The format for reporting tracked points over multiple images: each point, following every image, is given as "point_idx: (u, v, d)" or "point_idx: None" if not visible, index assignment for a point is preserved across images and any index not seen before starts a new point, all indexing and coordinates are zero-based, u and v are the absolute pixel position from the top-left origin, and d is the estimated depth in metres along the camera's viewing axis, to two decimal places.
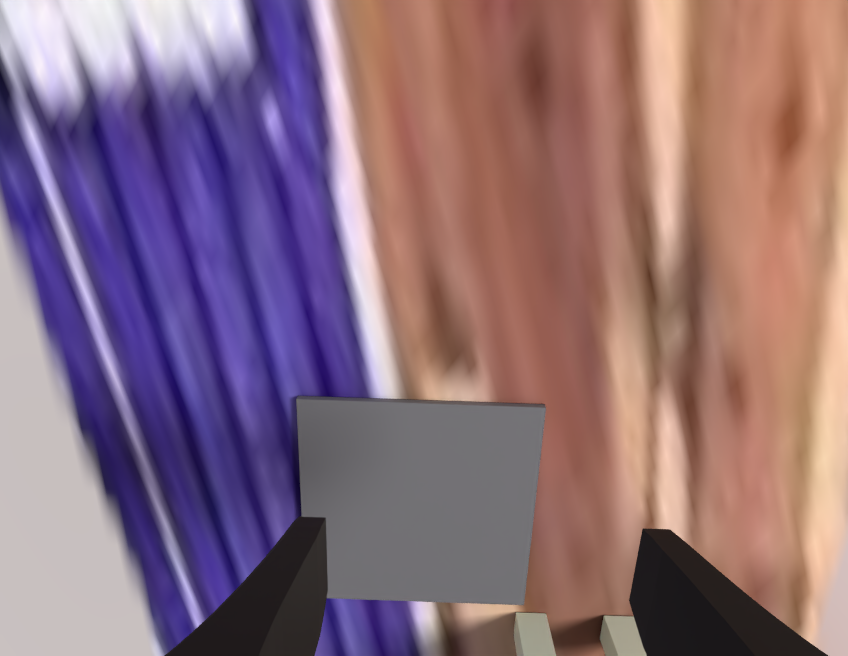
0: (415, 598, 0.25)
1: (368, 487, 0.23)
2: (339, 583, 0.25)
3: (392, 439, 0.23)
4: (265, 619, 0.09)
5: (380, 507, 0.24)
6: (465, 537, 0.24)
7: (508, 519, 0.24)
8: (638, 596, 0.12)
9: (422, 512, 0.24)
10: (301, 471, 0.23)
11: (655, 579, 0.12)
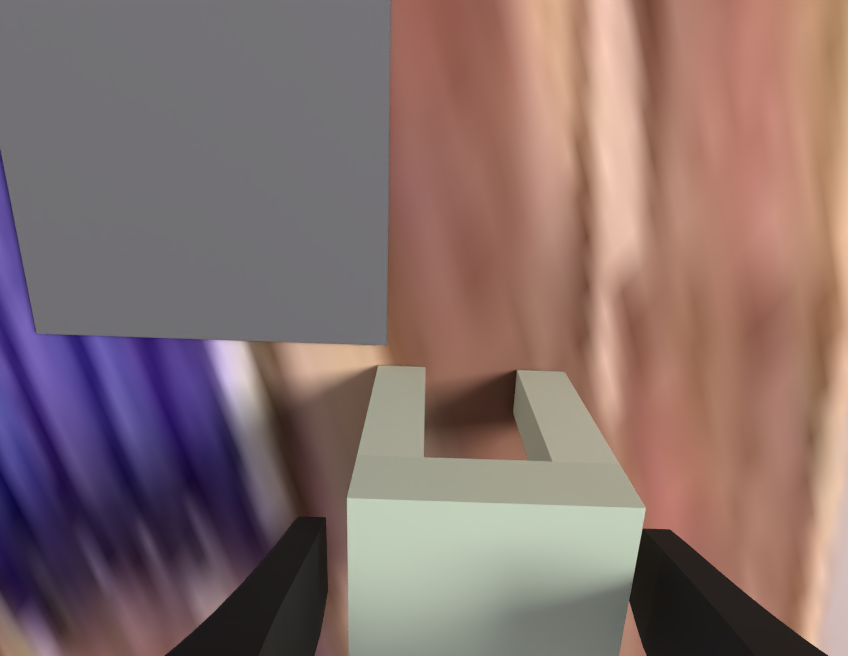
0: (212, 334, 0.16)
1: (107, 112, 0.14)
2: (87, 307, 0.16)
3: (133, 10, 0.13)
4: (265, 619, 0.09)
5: (132, 154, 0.14)
6: (279, 214, 0.15)
7: (346, 176, 0.14)
8: (638, 596, 0.12)
9: (203, 163, 0.14)
10: None
11: (655, 579, 0.11)
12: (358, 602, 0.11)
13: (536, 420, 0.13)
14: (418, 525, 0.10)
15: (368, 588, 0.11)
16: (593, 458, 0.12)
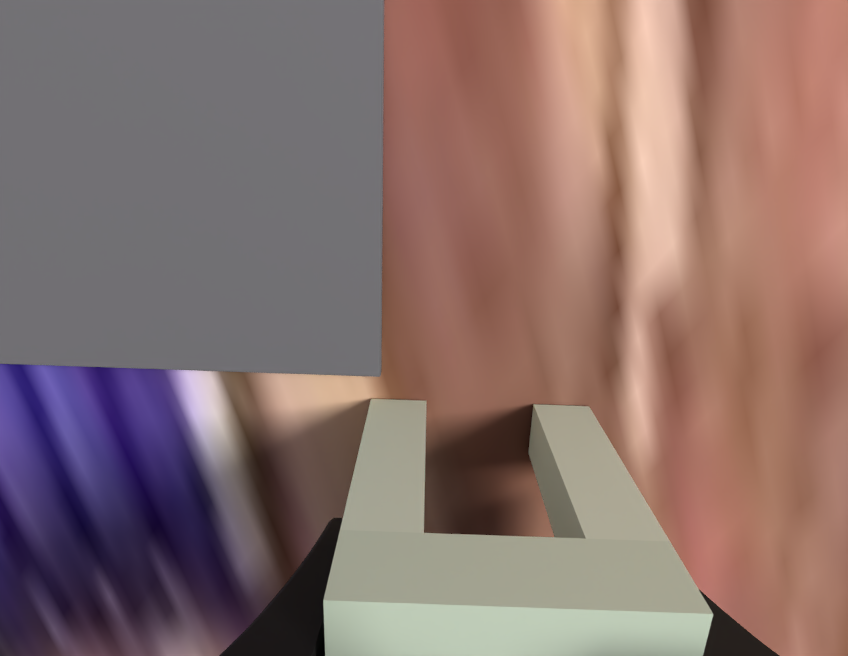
0: (176, 363, 0.13)
1: (42, 101, 0.12)
2: (28, 331, 0.13)
3: None
4: (313, 621, 0.09)
5: (74, 151, 0.12)
6: (252, 222, 0.12)
7: (331, 177, 0.12)
8: None
9: (159, 162, 0.12)
10: None
11: None
12: None
13: (561, 475, 0.11)
14: (416, 633, 0.08)
15: None
16: (636, 533, 0.09)
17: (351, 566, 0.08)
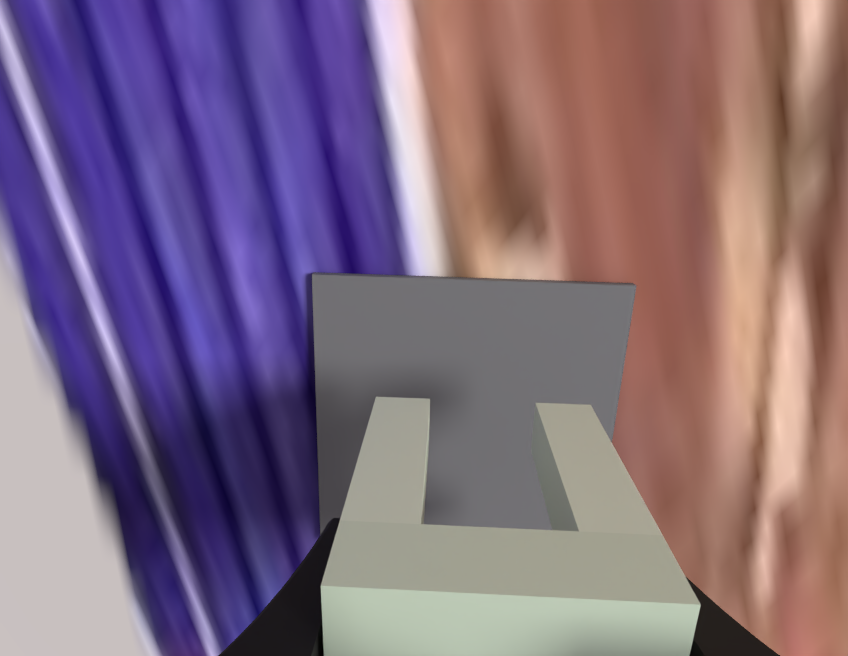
0: None
1: (403, 396, 0.18)
2: None
3: (435, 330, 0.18)
4: (313, 621, 0.09)
5: None
6: (524, 463, 0.19)
7: None
8: None
9: (471, 429, 0.19)
10: (317, 374, 0.18)
11: None
12: None
13: (558, 471, 0.11)
14: (410, 619, 0.08)
15: None
16: (629, 527, 0.10)
17: (349, 554, 0.09)
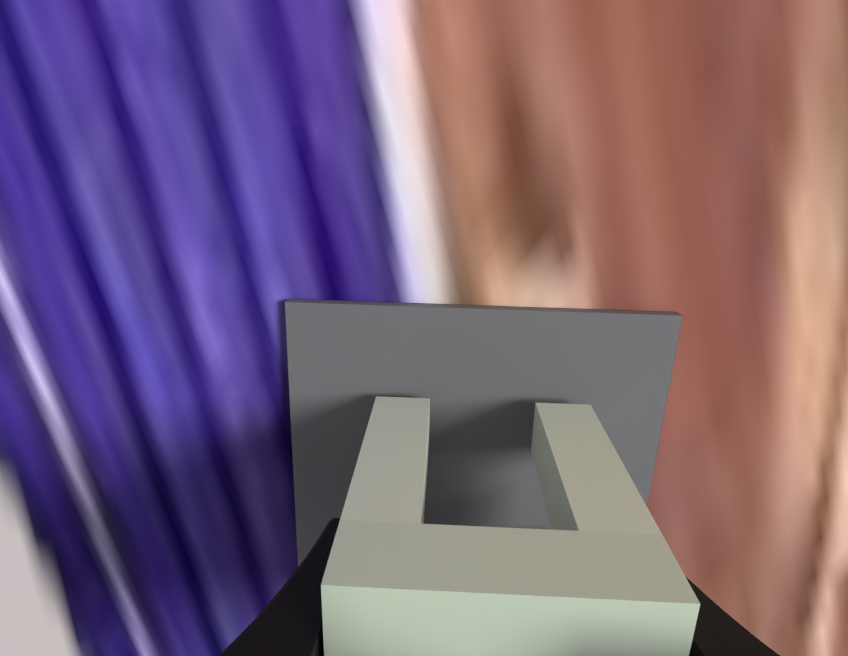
0: None
1: None
2: None
3: (435, 369, 0.14)
4: (313, 621, 0.09)
5: None
6: (543, 524, 0.16)
7: None
8: None
9: (479, 485, 0.16)
10: (293, 421, 0.15)
11: None
12: None
13: (558, 470, 0.11)
14: (410, 619, 0.08)
15: None
16: (629, 526, 0.10)
17: (349, 554, 0.09)
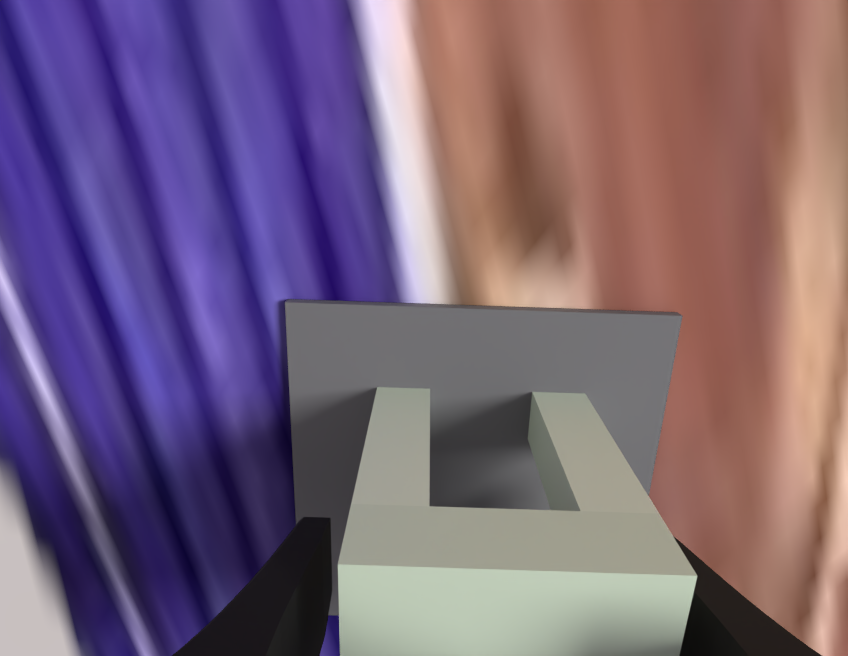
0: None
1: None
2: None
3: (435, 369, 0.14)
4: (272, 619, 0.09)
5: None
6: None
7: None
8: None
9: (479, 485, 0.16)
10: (293, 421, 0.15)
11: None
12: None
13: (558, 456, 0.12)
14: (423, 595, 0.09)
15: None
16: (628, 506, 0.10)
17: (362, 535, 0.09)
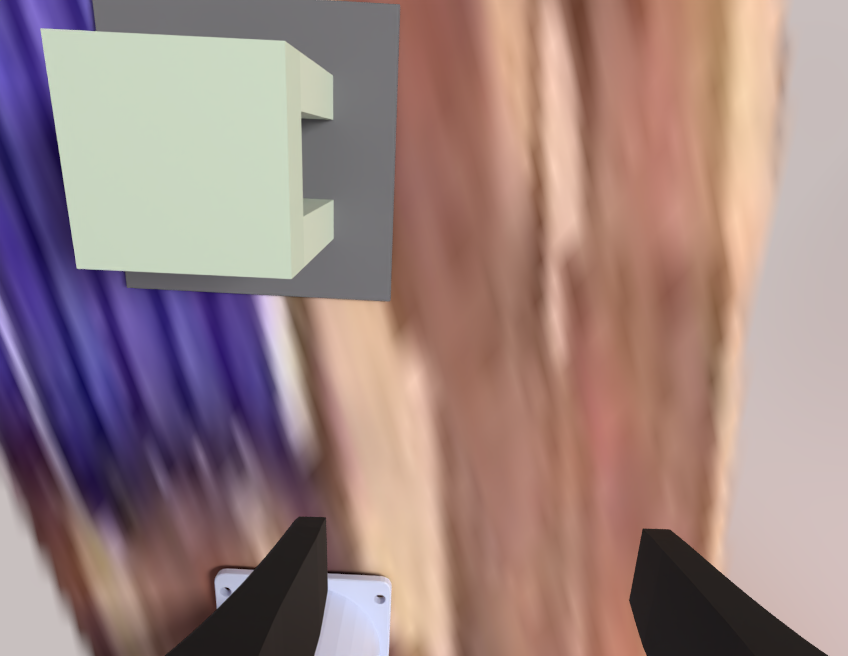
0: (259, 290, 0.21)
1: None
2: None
3: None
4: (265, 619, 0.09)
5: None
6: None
7: (363, 174, 0.20)
8: (638, 596, 0.12)
9: None
10: None
11: (655, 579, 0.11)
12: (66, 141, 0.13)
13: None
14: (103, 58, 0.13)
15: (72, 126, 0.13)
16: None
17: None
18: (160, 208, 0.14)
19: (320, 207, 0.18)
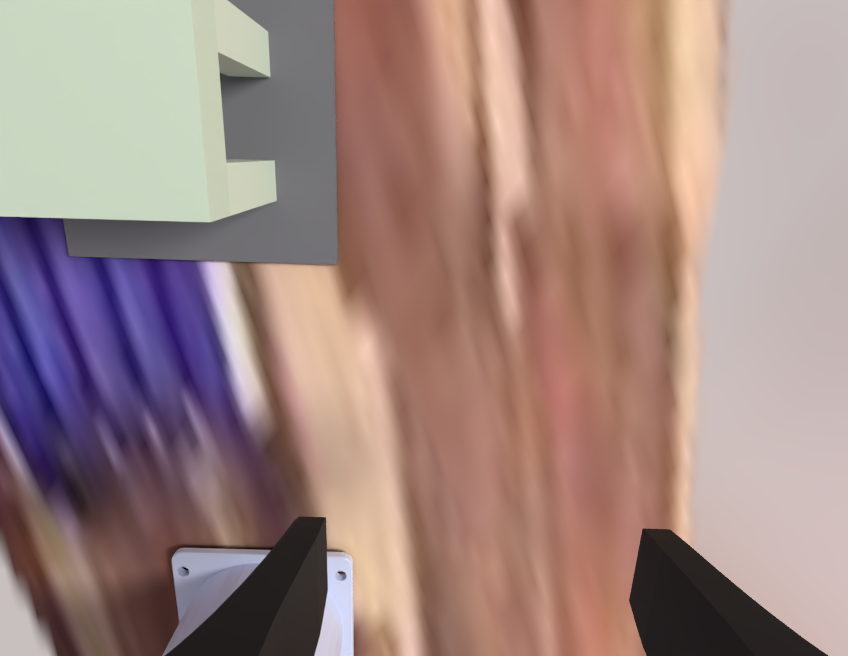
0: (204, 256, 0.21)
1: None
2: (108, 234, 0.20)
3: None
4: (265, 619, 0.09)
5: None
6: None
7: (304, 132, 0.19)
8: (638, 596, 0.12)
9: None
10: None
11: (655, 579, 0.11)
12: None
13: None
14: None
15: None
16: None
17: None
18: (71, 150, 0.13)
19: (254, 162, 0.17)
